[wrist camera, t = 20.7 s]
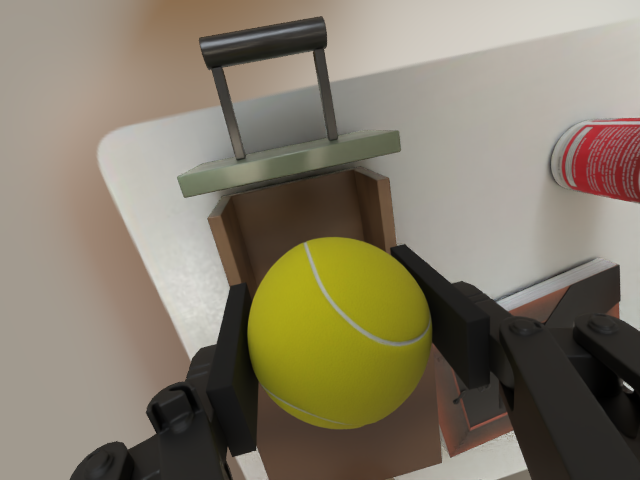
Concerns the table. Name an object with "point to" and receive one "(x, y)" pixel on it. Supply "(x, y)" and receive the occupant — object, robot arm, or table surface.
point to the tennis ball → (339, 333)
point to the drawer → (289, 168)
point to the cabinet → (352, 440)
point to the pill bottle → (600, 158)
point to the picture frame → (535, 302)
